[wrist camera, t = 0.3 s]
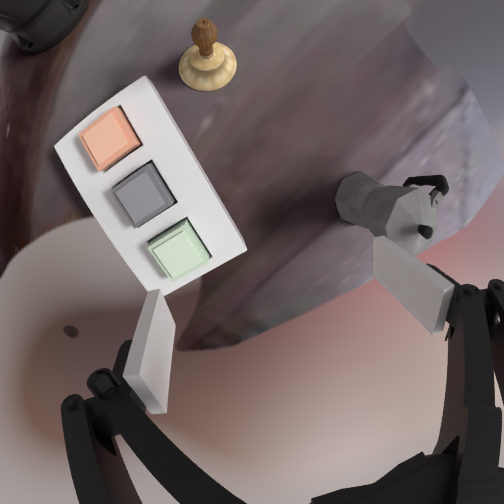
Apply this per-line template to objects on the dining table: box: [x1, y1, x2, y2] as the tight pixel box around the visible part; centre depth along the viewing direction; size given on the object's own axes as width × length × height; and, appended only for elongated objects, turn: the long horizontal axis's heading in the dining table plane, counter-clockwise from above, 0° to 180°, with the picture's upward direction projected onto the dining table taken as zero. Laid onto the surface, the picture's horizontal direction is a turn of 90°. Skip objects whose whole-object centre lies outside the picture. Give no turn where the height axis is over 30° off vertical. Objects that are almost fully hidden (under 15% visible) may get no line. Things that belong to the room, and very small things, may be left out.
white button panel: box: [54, 76, 247, 296], centre depth 35 cm, size 28×16×5 cm, turn 28°
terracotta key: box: [78, 107, 141, 172], centre depth 29 cm, size 6×6×3 cm
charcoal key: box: [110, 163, 175, 229], centre depth 33 cm, size 6×6×3 cm
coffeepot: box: [335, 171, 449, 256], centre depth 34 cm, size 15×9×18 cm, turn 136°
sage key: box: [147, 218, 209, 282], centre depth 36 cm, size 6×6×3 cm
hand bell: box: [179, 17, 237, 91], centre depth 24 cm, size 8×8×16 cm
